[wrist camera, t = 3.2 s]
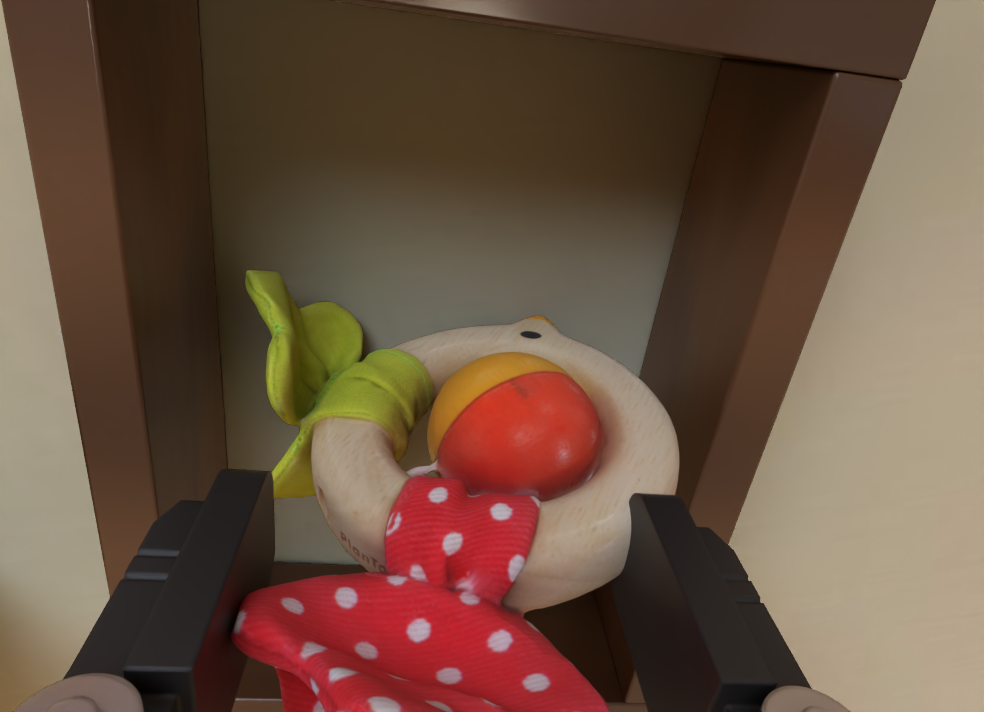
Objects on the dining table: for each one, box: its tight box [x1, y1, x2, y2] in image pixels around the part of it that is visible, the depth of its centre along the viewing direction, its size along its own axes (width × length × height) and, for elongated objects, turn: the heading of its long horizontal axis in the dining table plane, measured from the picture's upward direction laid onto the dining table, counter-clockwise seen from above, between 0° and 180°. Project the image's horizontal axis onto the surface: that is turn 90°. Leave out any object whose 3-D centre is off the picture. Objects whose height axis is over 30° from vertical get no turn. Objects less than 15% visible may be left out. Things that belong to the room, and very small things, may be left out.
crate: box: [1, 0, 936, 712], centre depth 15 cm, size 17×13×4 cm
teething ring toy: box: [231, 270, 679, 712], centre depth 12 cm, size 6×11×9 cm
